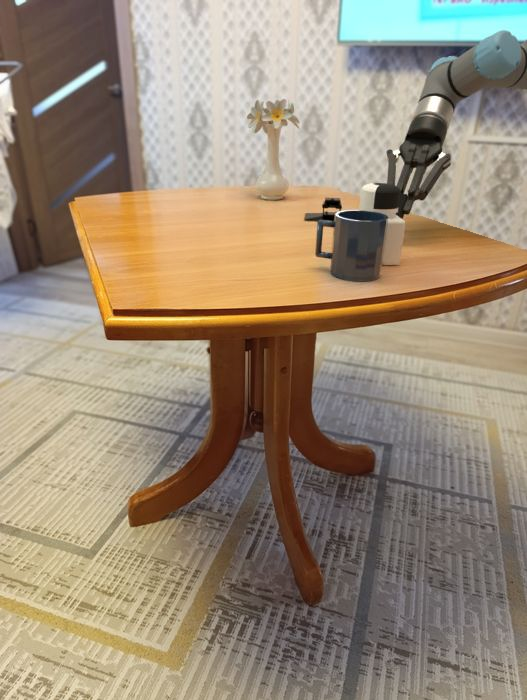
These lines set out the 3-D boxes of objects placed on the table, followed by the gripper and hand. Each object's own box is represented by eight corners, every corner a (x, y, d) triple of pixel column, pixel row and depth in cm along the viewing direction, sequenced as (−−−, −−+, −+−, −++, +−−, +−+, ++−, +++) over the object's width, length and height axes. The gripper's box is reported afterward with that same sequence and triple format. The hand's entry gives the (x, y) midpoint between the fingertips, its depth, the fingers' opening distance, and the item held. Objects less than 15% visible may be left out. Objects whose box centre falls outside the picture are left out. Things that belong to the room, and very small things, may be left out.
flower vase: (271, 190, 153) (273, 98, 141) (307, 201, 139) (313, 99, 127) (233, 194, 146) (232, 97, 135) (267, 205, 132) (269, 98, 121)
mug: (384, 270, 86) (392, 213, 82) (374, 284, 79) (382, 223, 75) (321, 261, 90) (325, 206, 86) (306, 274, 83) (310, 215, 79)
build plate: (304, 221, 118) (305, 200, 116) (305, 214, 125) (306, 195, 122) (358, 223, 117) (360, 202, 115) (356, 216, 124) (358, 196, 121)
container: (387, 253, 95) (397, 181, 89) (399, 265, 88) (411, 188, 83) (346, 253, 95) (353, 180, 89) (356, 265, 88) (364, 188, 82)
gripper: (461, 143, 103) (429, 241, 98) (398, 139, 109) (364, 232, 103) (462, 115, 97) (427, 219, 91) (395, 112, 102) (358, 210, 97)
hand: (394, 226), depth 97 cm, fingers closed
